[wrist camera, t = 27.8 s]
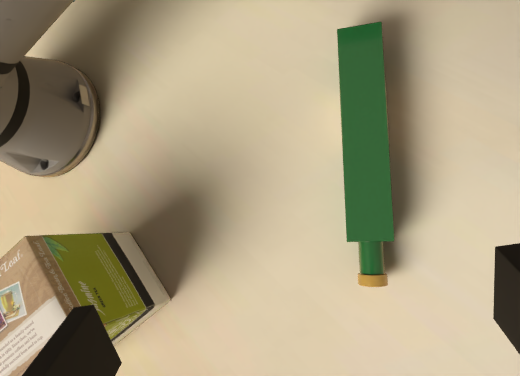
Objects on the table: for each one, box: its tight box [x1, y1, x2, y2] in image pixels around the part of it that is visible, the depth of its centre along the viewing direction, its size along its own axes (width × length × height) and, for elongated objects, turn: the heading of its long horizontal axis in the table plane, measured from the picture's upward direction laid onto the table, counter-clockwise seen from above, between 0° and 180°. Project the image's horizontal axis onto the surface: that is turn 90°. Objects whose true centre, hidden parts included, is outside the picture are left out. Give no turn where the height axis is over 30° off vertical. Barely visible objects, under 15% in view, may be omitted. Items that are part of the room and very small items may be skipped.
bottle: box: [337, 22, 394, 287], centre depth 35 cm, size 24×4×4 cm, turn 0°
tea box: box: [0, 232, 170, 376], centre depth 38 cm, size 15×10×15 cm, turn 126°
